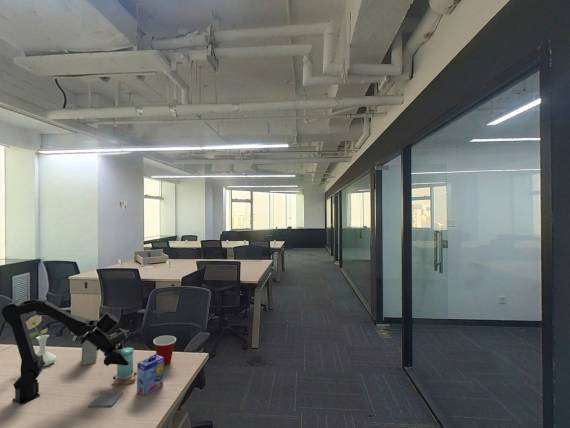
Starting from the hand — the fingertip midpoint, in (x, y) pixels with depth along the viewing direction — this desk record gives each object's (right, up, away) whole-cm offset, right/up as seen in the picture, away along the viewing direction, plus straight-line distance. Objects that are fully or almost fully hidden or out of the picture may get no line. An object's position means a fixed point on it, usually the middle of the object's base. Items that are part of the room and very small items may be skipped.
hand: (128, 361), depth 139 cm
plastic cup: (+10, -8, +15) cm, 20 cm away
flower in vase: (-51, -9, +14) cm, 53 cm away
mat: (-1, -8, -16) cm, 18 cm away
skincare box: (-28, -9, +18) cm, 35 cm away
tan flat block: (-1, -8, -1) cm, 8 cm away
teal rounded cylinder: (-1, -5, -1) cm, 5 cm away
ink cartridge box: (+13, -8, -8) cm, 17 cm away
